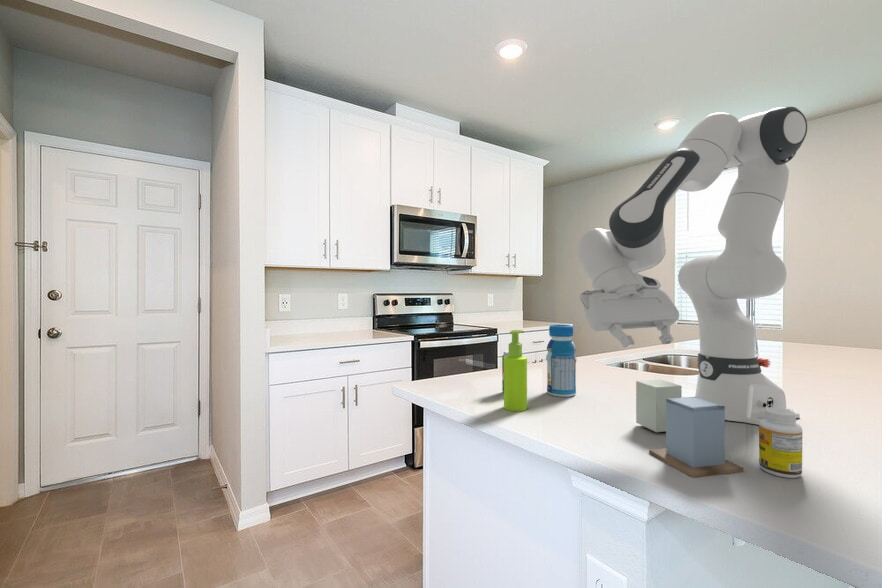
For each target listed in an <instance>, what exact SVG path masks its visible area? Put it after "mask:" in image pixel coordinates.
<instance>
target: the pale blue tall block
mask: <svg viewBox="0 0 882 588" xmlns="http://www.w3.org/2000/svg"><path fill="white" fill-rule="evenodd" d="M725 423H726V420H725V406H723V405H720V404H717V403H714V402H711V401H707V400H704V399H701V398H698V397H695V396H686V397H683V396H682V398H669V399H666V431H665V442H666V443H665V445H666V446H665V448H666V453H667V454H669V455H671V456H672V457H674V458H676V459H678V460H680V461H682V462H684V463H686V464H688V465H689V466H691V467H693V468H696V467H705V466H714V465H723V464H725V460H726V459H725V457H726V456H725V453H726V452H725V450H726V448H725V447H726V446H725V443H726V442H725V441H726V438H725V437H726V431H725V430H726V429H725V428H726V426H725V425H726V424H725Z"/></svg>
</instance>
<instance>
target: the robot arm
mask: <svg viewBox="0 0 882 588" xmlns="http://www.w3.org/2000/svg"><path fill="white" fill-rule="evenodd" d="M807 133H808V122H807V118H806V116H805V114H804V113H803V112H802V111H801V110H800V109H799V108H797V107H795V106H781V107H774V108H771V109H770V110H767V111H764V112H758V113H755V114H751V115H747V116H745V117H742V118H741V119H738V117H736V116H735V115H734V114H731V113H727V112H715V113H711V114H709V115H707V116H704V118H703V119H701V120H700V121H699V122H698V123H697V124H696V125H695V126H694V127H693V128H692V129H691V131H689V133H688V134H687V135H686V136H685V137H684V139H683V140H682V141H681V142H680V143H679V145H678V146H677V148H676V149H675V151H672V153H670V154H669V155H668V156H666V157H665V159H663V161H661V163H660V164H659V165H658V166H657V167H656V169H654V171H653V172H652V173H650V175H649V177H648V178H647V179H646V180H645V181H644V183H643V184H642V185H641V186H640V187H639V188H638V190H636V191H635V192H634V193H633V194H632V195H630V196H629V197H628V198H626V199H625V200H624V201H621V203H620V204H618V205H617V206H616V207H615V208H614V209H613V211H612V212H611V215H610V216H609V221H608V223H609V224H608V226H609V229H603V228H601V227H600V228H599V227H595V228H592V229H589V230H588V231H586V232H585V233H583V234H582V235H581V236H580V238H579V240H578V241H577V245H576V255H577V258H578V260H579V263H580V265H581V267H582V269H583V271H584V273H585V275H586V276H587V277H588V278H589V279H590V280H591V285H592V288H593V290H584V291H583V292H581V293H580V295H579V301H580V302H581V305H582V306H583V310H584V311H583V312H584V313H585V317H586V320H587V323H588V325H589V327H590V328H591V329H592V330H594V331H595V332H605V331H608V332H609V333H610V335H611V336H613V337H615V339H616V340H617V341H619V342H620V344H621V345H622V347H623V348H631V347H632V346H634V344H635V340H634V339H633V337H632V335H627V333H626V332H624V331H623V330H633V329H634V330H635V329H648V328H656V329H657V331H658V332H659V331H660V334H661V335H660V336H659V337H658V339H659V340H660V342H661V344H662V345H670V344H671V343H673V342H674V337H673V336H672V334H671V326H672V325H674V324H675V323H676V322H677V321H678V320H679V318H680V312H679V310H678V308H677V306H676V305H675V303H674V302H673V300H672V299H671V297H670V296H669V295H668V293H667V292H665V291H664V290H662V289H660V288H661V287H662V284H661V283H660V281H659V280H658V279H657V278H653V277H649V276H646V275H642V274H640V272H643V271H647V270H650V269H652V268H654V267H656V266H657V265H659V264H660V263H661V262H662V260H663V259H664V257H665V256H666V238H665V230H664V217H665V215H664V214H665V209H666V206H667V205H668V203H670V201H671V199H672V198H673V197H674V196H675V194H677V192H678V191H679V190H681V191H682V192H683V191H684V192H699V191H703V190H706V189H708V188H709V187H710V186H711V185H712V184H713V183H714V182H715V181H716V180H717V179H718V178H719V177H720V175H721V174H722V172H724V170H728V169H734V168H737V178H736V180H735V182H734V183H733V185H732V187H731V190H730V193H729V194H728V197H727V199H726V202H725V205H724V208H723V211H722V213H721V216H720V218H719V221H718V224H717V229H718V232H719V234H721V237H723V238H725V247H724V249H723V252H721V253H719V254H712V255H711V254H710V255H709V254H707V255H701V256H699V257H696V258H693V259H690V260H688V261H686V262H684V263H683V265H682V266H681V267H680V269H679V271H678V276H677V279H678V284H679V287H680V288H681V290H682V291H683V292H685V294H687V296H688V297H689V299H690V301H691V302H692V305H693V307H694V310H695V313H696V316H697V317H696V318H697V321H698V328H699V331H698V333H699V353H697V361H696V362H697V368H698V374H697V381H696V386H695V387H696V388H695V395H694V397H698V398H701V399H704V400H707V401H711V402H714V403H717V404H720V405H723V406H725V421H731V422H738V423H747V424H752V425H758V426H759V422H760V420H762V419H765V409H766V408H780V409H786V410H790V411H793V412H795V413H796V419H798V418H800V417H801V416H800V413H799V412H798V411H796V410H794V409H791V408H789V407H787V399H786V394H785V391H784V390H783V388H782V387H780V386H779V385H777V384H776V383H774V382H773V381H772V380H770V379H769V378H768V377H767V376H766V375H764V374H763V373H762V368H761V367H763V368H770V366H771V361H770V359H769V358H763V357H760V358H757V357H756V351H755V350H756V328H755V325H754V323H753V321H752V320H751V319H750V318H749V317H747V316H746V315H745V314H744V313H743V311H742V310H741V308H740V304H739V303H738V300H754V299H759V298H763V297H764V298H765V297H769V296H772V295H776V294H777V293H779V291H780V290H781V289H782V288H783V287H784V285H785V282H786V280H787V268H786V265H785V263H784V261H783V260H782V259H781V258H780V257H779V256H778V255H777V254H776V253H775V251H774V248H773V234H774V230H775V227H776V224H777V221H778V218H779V216H780V212H781V209H782V207H783V204H784V200H785V198H786V194H787V190H788V184H789V175H790V170H789V167H788V166H787V163H789V162H790V161H791V160H792V159H793V158H794V157H795V155H796V154H797V151H798V150H799V149H800V148H801V146H802V144H803V143H804V140H805V139H806V136H807Z"/></svg>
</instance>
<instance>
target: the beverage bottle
mask: <svg viewBox="0 0 882 588" xmlns="http://www.w3.org/2000/svg"><path fill="white" fill-rule="evenodd" d="M548 332H549V333H548V334H549V337H550V340H549V341H548V343H547V346H546V351H547V354H546V356H545V357H546V363H547V364H546V368H547V369H546V371H547V376H546V377H547V378H546V379H547V382H546V384H547V385H546V393H547V394H549V396H553V397H558V398H559V397H560V398H568V397H573V396H575V395H576V394H577V389H576V387H577V385H576V384H577V382H576V373H577V371H576V370H577V369H576V366H577V365H576V364H577V355H576V353H575V352H576V350H577V346H576V345H575V343H574V341H573V340H572V338H573V337H574V326H573V325H571V324H570V325H569V324H550V325H549V327H548Z"/></svg>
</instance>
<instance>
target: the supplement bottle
mask: <svg viewBox="0 0 882 588" xmlns="http://www.w3.org/2000/svg"><path fill="white" fill-rule="evenodd" d="M758 449H759V450H758V464H759V467H760V468H761V470H762V471H764V472H766V473H768V474H770V475H772V476H777V477H781V478H787V479H796V478H797V479H798V478H800V477H801V476H802V475H803V428H802V426H801V425H800V424H798V423H797V418H796V413H795V412H793V411H790V410H786V409H780V408H766V409H765V419H762V420H760V422H759V425H758Z"/></svg>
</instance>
